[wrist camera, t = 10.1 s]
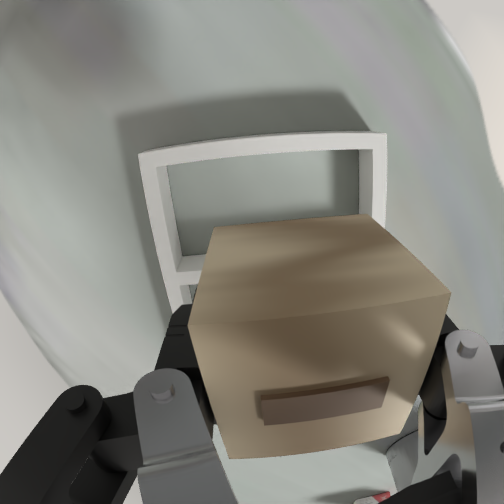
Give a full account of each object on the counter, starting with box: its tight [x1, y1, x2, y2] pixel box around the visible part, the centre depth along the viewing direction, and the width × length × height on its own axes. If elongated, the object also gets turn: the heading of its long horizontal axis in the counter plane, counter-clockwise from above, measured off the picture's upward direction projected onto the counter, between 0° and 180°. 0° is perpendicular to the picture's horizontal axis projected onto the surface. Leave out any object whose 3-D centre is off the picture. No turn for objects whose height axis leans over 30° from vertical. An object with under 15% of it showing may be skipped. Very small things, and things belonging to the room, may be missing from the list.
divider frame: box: [138, 131, 387, 314], centre depth 23 cm, size 15×25×2 cm, turn 5°
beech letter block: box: [188, 214, 451, 459], centre depth 8 cm, size 5×5×5 cm
